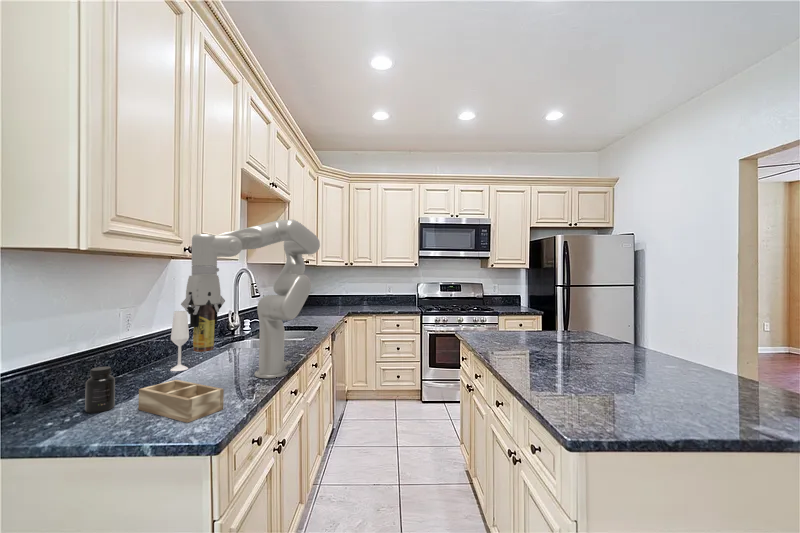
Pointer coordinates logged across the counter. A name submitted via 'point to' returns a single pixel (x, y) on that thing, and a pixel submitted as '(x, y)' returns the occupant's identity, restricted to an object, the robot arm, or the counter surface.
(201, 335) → the sauce bottle
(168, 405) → the rail
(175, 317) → the champagne flute
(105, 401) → the supplement bottle
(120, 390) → the counter surface
